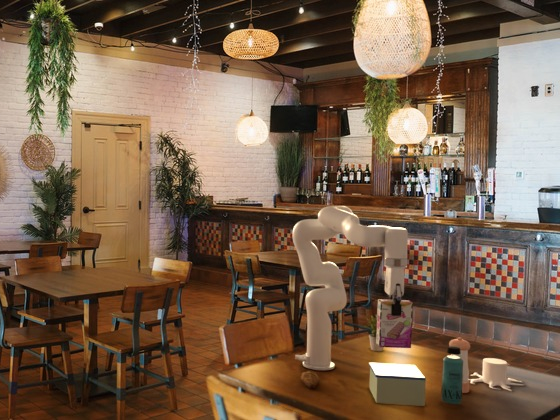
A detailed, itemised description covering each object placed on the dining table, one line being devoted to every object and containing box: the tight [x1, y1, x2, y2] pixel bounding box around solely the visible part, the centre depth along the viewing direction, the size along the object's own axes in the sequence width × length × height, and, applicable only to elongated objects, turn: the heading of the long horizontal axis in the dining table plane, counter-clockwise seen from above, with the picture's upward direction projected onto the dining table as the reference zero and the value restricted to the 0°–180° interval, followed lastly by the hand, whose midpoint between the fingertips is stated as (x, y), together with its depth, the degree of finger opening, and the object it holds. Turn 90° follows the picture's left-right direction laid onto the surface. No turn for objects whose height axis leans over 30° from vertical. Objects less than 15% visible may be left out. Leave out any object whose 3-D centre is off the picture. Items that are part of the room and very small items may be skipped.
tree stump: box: [468, 357, 525, 392], centre depth 245 cm, size 20×19×8 cm
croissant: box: [300, 370, 320, 389], centre depth 240 cm, size 14×7×5 cm, turn 174°
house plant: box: [363, 314, 385, 352], centre depth 288 cm, size 14×14×16 cm
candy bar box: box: [376, 298, 414, 349], centre depth 229 cm, size 11×5×16 cm, turn 85°
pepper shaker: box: [448, 336, 471, 394], centre depth 235 cm, size 7×7×19 cm
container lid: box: [368, 362, 427, 380], centre depth 226 cm, size 16×16×1 cm
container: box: [369, 367, 427, 407], centre depth 226 cm, size 16×16×9 cm
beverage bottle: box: [440, 346, 464, 405], centre depth 218 cm, size 6×7×20 cm
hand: (394, 313), depth 229 cm, fingers closed on candy bar box, 5 cm apart
